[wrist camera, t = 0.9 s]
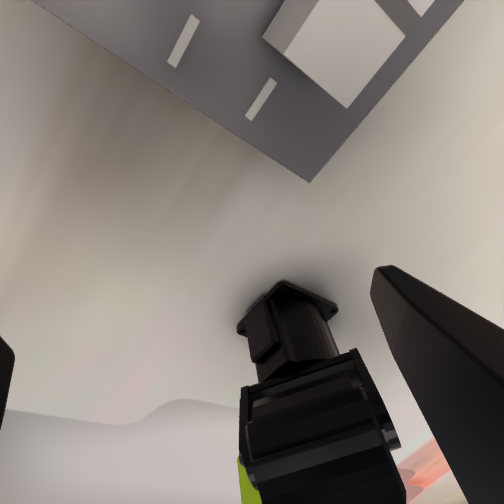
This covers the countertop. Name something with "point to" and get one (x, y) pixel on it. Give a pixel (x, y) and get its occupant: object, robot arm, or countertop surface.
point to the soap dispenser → (247, 488)
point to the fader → (342, 39)
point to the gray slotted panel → (241, 69)
